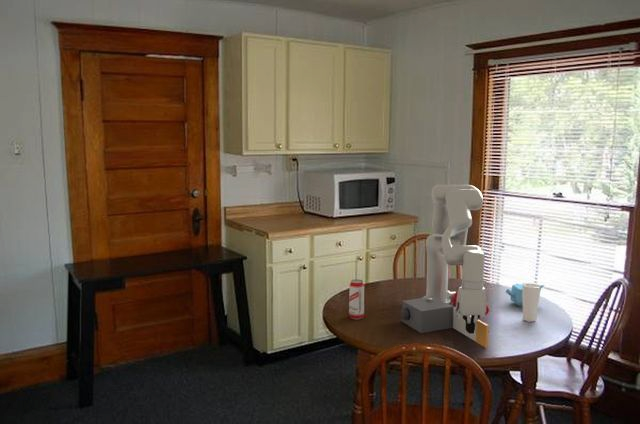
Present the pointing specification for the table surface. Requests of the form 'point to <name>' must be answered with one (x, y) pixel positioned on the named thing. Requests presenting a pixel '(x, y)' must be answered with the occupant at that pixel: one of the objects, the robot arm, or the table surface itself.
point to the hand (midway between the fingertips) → (470, 332)
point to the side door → (479, 332)
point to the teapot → (517, 294)
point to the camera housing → (427, 314)
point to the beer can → (356, 299)
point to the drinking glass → (530, 301)
